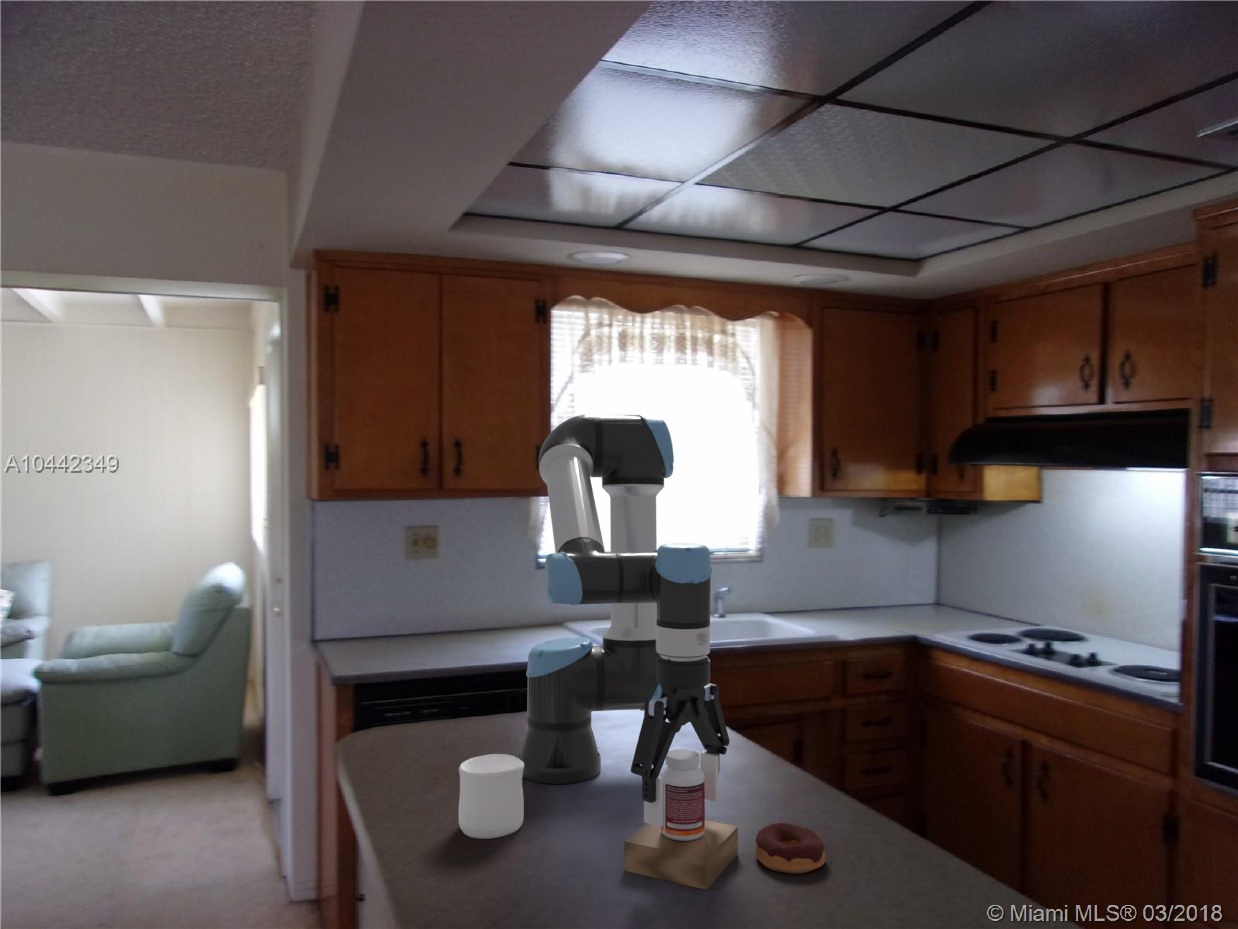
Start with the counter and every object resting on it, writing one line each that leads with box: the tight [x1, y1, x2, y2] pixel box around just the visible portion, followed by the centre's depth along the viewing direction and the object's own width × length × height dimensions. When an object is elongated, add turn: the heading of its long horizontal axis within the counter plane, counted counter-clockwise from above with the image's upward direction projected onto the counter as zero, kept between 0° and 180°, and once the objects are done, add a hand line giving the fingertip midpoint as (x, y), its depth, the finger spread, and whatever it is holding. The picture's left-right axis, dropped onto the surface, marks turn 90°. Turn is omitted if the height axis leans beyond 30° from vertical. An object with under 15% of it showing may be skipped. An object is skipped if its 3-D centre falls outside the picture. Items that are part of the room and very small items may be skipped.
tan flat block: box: [623, 819, 739, 891], centre depth 126 cm, size 12×12×4 cm
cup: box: [458, 753, 525, 840], centre depth 138 cm, size 10×10×10 cm
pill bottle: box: [660, 748, 706, 841], centre depth 126 cm, size 6×6×11 cm
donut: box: [754, 822, 826, 874], centre depth 127 cm, size 10×10×4 cm
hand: (682, 811), depth 126 cm, fingers open, 12 cm apart
